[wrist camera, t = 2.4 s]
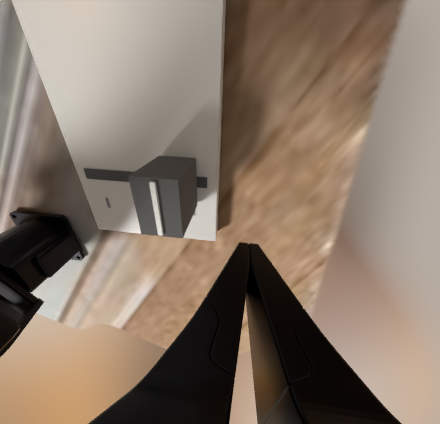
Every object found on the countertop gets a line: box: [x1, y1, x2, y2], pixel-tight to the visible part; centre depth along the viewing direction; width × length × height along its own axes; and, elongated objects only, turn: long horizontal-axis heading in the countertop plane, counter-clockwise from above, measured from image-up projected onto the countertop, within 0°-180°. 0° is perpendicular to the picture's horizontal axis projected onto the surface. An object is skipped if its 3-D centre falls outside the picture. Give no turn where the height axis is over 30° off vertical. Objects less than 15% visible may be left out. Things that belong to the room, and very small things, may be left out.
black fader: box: [128, 156, 197, 238], centre depth 13 cm, size 3×4×5 cm
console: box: [12, 0, 226, 241], centre depth 13 cm, size 12×25×2 cm, turn 178°
